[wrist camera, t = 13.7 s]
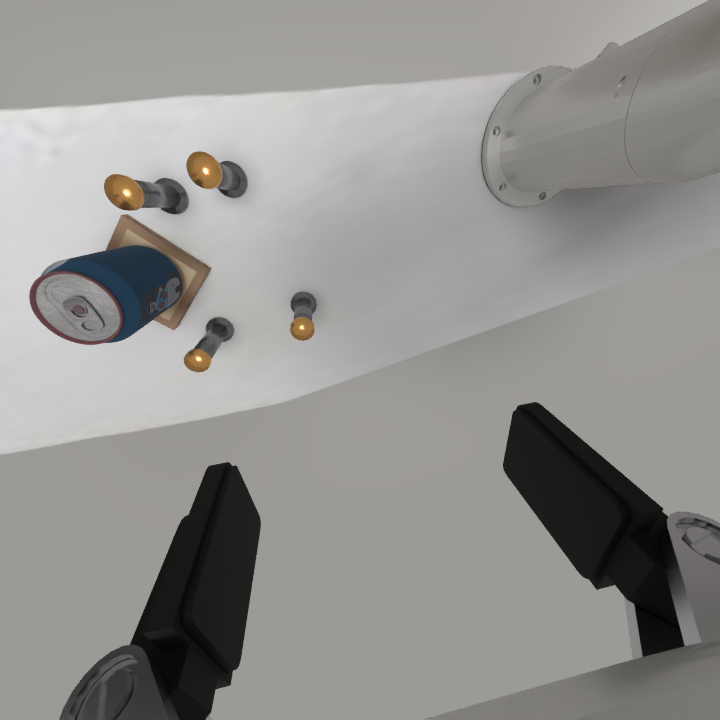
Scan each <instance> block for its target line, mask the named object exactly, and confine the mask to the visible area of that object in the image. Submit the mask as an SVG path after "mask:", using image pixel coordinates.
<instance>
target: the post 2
mask: <svg viewBox="0 0 720 720" xmlns="http://www.w3.org/2000/svg"><path fill="white" fill-rule="evenodd" d="M187 171H188V174H189V176H190V178H191V179H192V181H193V182H194V183H195V184H197V185H198V186H200V187H202V188H206V189H214V188H218V189H219V191H220V192H221V193H223V194H224V195H226V196H228V197H232V198H237V197H240V196H242V195H243V194H244V193H245V191H246V189H247V178H246V175H245V173H244V171H243V170H242V169H241V168H240V167H239V166H238V165H237V164H235V163H233V162H230V161H224V162H221V163H219V162H218V161H217V160H216V159H215V158H214V157H212V156H211V155H209V154H207V153H205V152H194V153H192V154H191V155H190V156H189V158H188V160H187Z"/></svg>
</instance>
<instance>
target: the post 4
mask: <svg viewBox="0 0 720 720" xmlns="http://www.w3.org/2000/svg"><path fill="white" fill-rule="evenodd" d="M291 308H292V310H293V312H294V320H293V322H292V323H291V328H290V331H291V334H292V336H293V337H294V338H296V339H298V340H301V341H304V340H308V339H310V338H311V337H312V336H313V334H314V324H313V322H312V314H313V313H314V311H315V309H316V301H315V298H314V297H313V296H312V295H311V294H309V293H307V292H299V293H297V294H295V295H294V296H293V298H292V300H291Z"/></svg>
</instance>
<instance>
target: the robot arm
mask: <svg viewBox="0 0 720 720" xmlns="http://www.w3.org/2000/svg"><path fill="white" fill-rule="evenodd" d="M493 131H494V135H493ZM482 163H483V171H484V175H485V179H486V182H487V184H488V186H489V188H490V190H491V191H492V192H493V194H494V195H495V196H496V197H497V198H498V199H499V200H500V201H502V202H504V203H506V204H508V205H511V206H516V207H529V206H535V205H538V204H541V203H543V202H545V201H547V200H549V199H550V198H552V197H554V196H555V195H556V194H557V193H559V192H560V191H561V190H567V189H582V188H596V187H610V186H625V185H639V184H653V183H665V182H678V181H686V180H693V179H697V178H701V177H705V176H708V175H711V174H714V173H716V172H719V171H720V0H709V1H707V2H705V3H703V4H701V5H699V6H697V7H695V8H693V9H691V10H689V11H687V12H685V13H684V14H682V15H680V16H678V17H676V18H674V19H672V20H670V21H668V22H666V23H664V24H662V25H660V26H658V27H656V28H655V29H653V30H651V31H649V32H647V33H645V34H643V35H641V36H639V37H637V38H635V39H633V40H632V41H629V42H627V43H626V44H624V45H622V46H620V47H619V46H618V45H617V43H614V42H612V43H609V44H608V45H607V46H606V47H605V48H604V49H603V51H602V52H601V53H600V54H599V55H598V57H597V58H596V59H595V60H593V61H591V62H589V63H587V64H585V65H583V66H581V67H579V68H577V69H575V70H573V71H572V70H571V69H568V68H565V67H562V66H548V67H544V68H540V69H538V70H536V71H534V72H532V73H530V74H528V75H527V76H525V77H524V78H522V79H521V80H519V81H518V82H516V83H515V84H514V85H513V86H512V87H511V88H510V89H509V90H508V91H507V92H506V94H505V95H504V96H503V98H502V99H501V100H500V101H499V103H498V105H497V107H496V108H495V110H494V112H493V114H492V116H491V118H490V121H489V124H488V126H487V129H486V133H485V137H484V141H483V150H482ZM499 186H500V189H499ZM503 468H504V471H505V473H506V474H507V476H508V478H509V479H510V480H511V482H512V483H513V484H514V486H515V487H516V488H517V490H518V491H519V493H520V494H521V495H522V497H523V498H524V499H525V501H526V502H527V503H528V505H529V506H530V507H531V509H532V510H533V511H534V513H535V514H536V515H537V517H538V518H539V520H540V521H541V522H542V524H543V525H544V526H545V528H546V529H547V530H548V531H549V533H550V534H551V536H552V537H553V538H554V540H555V541H556V543H557V544H558V545H559V547H560V548H561V549H562V551H563V552H564V553H565V555H566V556H567V557H568V559H569V560H570V561H571V563H572V564H573V565H574V567H575V568H576V570H577V571H578V572H579V573H580V574H581V575H582V576H583V577H584V578H586V579H589V580H590V581H591V583H592V584H593V585H594V587H595V588H596V589H597V590H598V589H601V588H605V587H609V586H613V585H616V587H617V588H618V589H619V590H620V592H621V593H622V594H623V595H624V599H625V606H626V613H627V620H628V627H629V634H630V641H631V648H632V656H633V660H630V661H627V662H623V663H619V664H616V665H612V666H609V667H605V668H602V669H599V670H595V671H591V672H587V673H584V674H580V675H577V676H573V677H570V678H566V679H563V680H559V681H555V682H552V683H548V684H545V685H542V686H538V687H535V688H531V689H527V690H524V691H520V692H517V693H513V694H510V695H506V696H503V697H500V698H496V699H492V700H489V701H485V702H482V703H479V704H475V705H472V706H468V707H465V708H461V709H458V710H454V711H451V712H447V713H444V714H440V715H437V716H433V717H430V718H426V719H423V720H720V523H718V522H717V521H715V520H713V519H710V518H707V517H704V516H702V515H700V514H695V513H691V512H676V513H673V514H670V516H669V517H668V516H667V515H666V514H664V513H663V512H662V510H663V508H662V507H660V506H659V505H658V504H657V503H656V502H655V501H654V500H652V499H651V498H650V497H649V496H648V495H647V494H645V493H644V492H643V491H642V490H641V489H640V488H638V487H637V486H636V485H635V484H634V483H632V482H631V481H630V480H629V479H628V478H627V477H625V476H624V475H623V474H622V473H621V472H620V471H618V470H617V469H616V468H615V467H614V466H612V465H611V464H610V463H609V462H608V461H607V460H605V459H604V458H603V457H602V456H601V455H599V454H598V453H597V452H596V451H595V450H594V449H592V448H591V447H590V446H589V445H588V444H587V443H585V442H584V441H583V440H582V439H581V438H579V437H578V436H577V435H576V434H575V433H574V432H572V431H571V430H570V429H569V428H568V427H566V426H565V425H564V424H563V423H562V422H560V421H559V420H558V419H557V418H556V417H555V416H554V415H552V414H551V413H550V412H549V411H548V410H546V409H545V408H544V407H543V406H542V405H540V404H539V403H536V402H534V403H529V404H524V405H519V406H518V407H517V409H516V410H515V411H514V412H513V415H512V420H511V425H510V431H509V436H508V441H507V447H506V452H505V457H504V462H503ZM260 522H261V521H260V516H259V514H258V512H257V509H256V507H255V505H254V503H253V501H252V498H251V496H250V494H249V492H248V490H247V487H246V485H245V483H244V481H243V479H242V476H241V474H240V472H239V470H238V468H237V466H232V465H231V464H230V463H229V462H226V463H221V464H216V465H212V466H209V467H208V468H207V470H206V472H205V475H204V477H203V480H202V482H201V485H200V487H199V490H198V492H197V495H196V497H195V500H194V503H193V505H192V508H191V510H190V513H189V515H187V516H185V517H184V518H183V519H182V520H181V522H180V524H179V526H178V529H177V531H176V533H175V536H174V538H173V541H172V543H171V546H170V548H169V550H168V553H167V555H166V558H165V560H164V563H163V565H162V567H161V570H160V572H159V575H158V577H157V580H156V582H155V585H154V587H153V590H152V592H151V595H150V597H149V599H148V602H147V604H146V607H145V609H144V612H143V614H142V616H141V619H140V621H139V624H138V626H137V629H136V631H135V634H134V636H133V638H132V641H131V643H130V645H126V646H122V647H120V648H118V649H115V650H114V651H111V652H110V653H108V654H107V655H106V656H104V657H103V658H102V659H100V660H99V661H98V662H97V663H96V664H95V665H94V666H93V667H92V668H91V669H90V670H89V671H88V672H87V673H86V674H85V675H84V677H83V678H82V679H81V680H80V682H79V683H78V685H77V686H76V687H75V689H74V690H73V692H72V693H71V695H70V697H69V699H68V701H67V702H66V704H65V706H64V708H63V710H62V713H61V716H60V719H59V720H212V719H211V717H210V713H211V709H212V704H213V699H214V694H215V689H218V688H222V687H226V686H229V685H231V679H232V672H233V670H236V669H237V668H238V666H239V664H240V660H241V654H242V648H243V641H244V635H245V628H246V621H247V615H248V608H249V601H250V595H251V588H252V581H253V575H254V567H255V561H256V555H257V548H258V540H259V534H260V527H261V523H260Z"/></svg>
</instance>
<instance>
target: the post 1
mask: <svg viewBox="0 0 720 720" xmlns="http://www.w3.org/2000/svg"><path fill="white" fill-rule="evenodd" d="M104 189H105V193H106V195H107V197H108V199H109V200H110V201H111V202H112V203H113V204H114V205H115V206H117V207H118V208H120V209H123V210H138V209H140V208H161V209H162V210H164V211H165V212H167V213H171V214H179V213H182V212H184V211H185V210H186V208H187V206H188V195H187V193H186V191H185V189H184V188H183V187H182V186H181V185H180V184H179V183H178V182H176V181H174V180H172V179H167V178H162V179H159V180H157V181H156V182H155V183H150V182H144V181H137V180H133V179H132V178H130V177H128V176H124V175H118V174H114V175H111V176H109V177H108V178H107V179H106V180H105V183H104Z"/></svg>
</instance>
